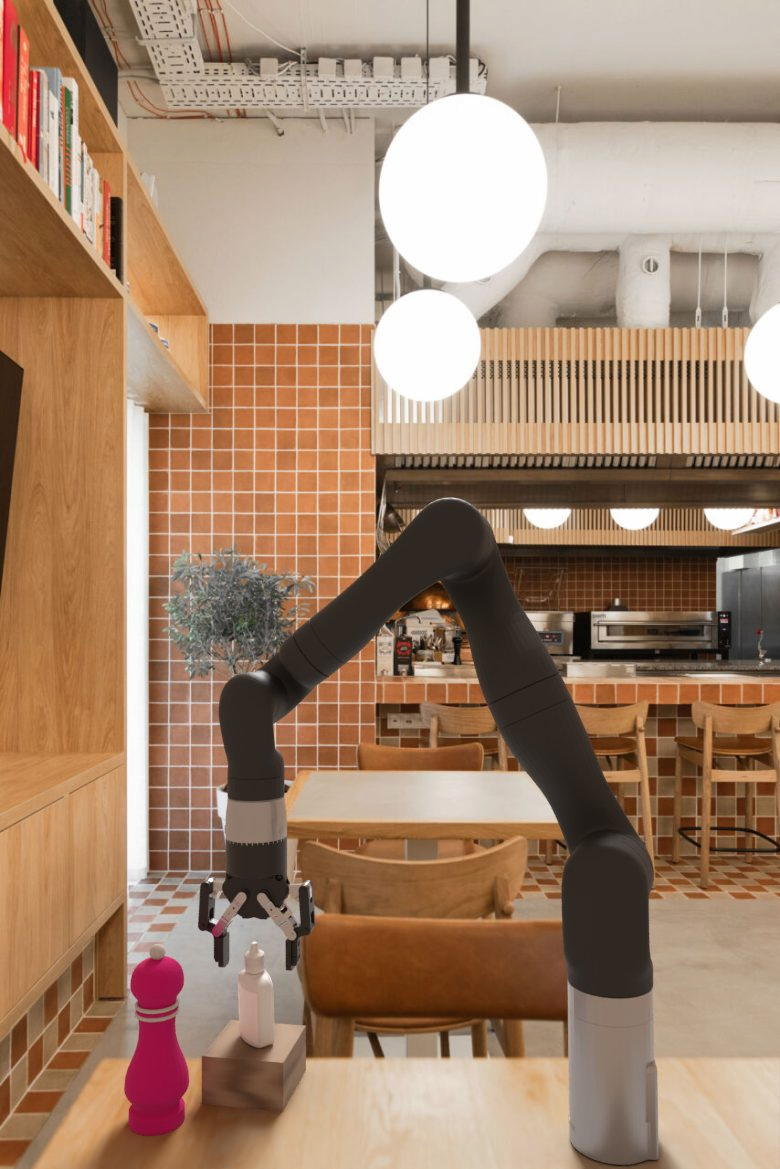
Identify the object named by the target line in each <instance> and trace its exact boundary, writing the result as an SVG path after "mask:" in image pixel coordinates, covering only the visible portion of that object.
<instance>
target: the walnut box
mask: <svg viewBox="0 0 780 1169" xmlns="http://www.w3.org/2000/svg"><path fill="white" fill-rule="evenodd" d="M274 1032H275V1041H274V1043H272V1044H270V1045H268V1046H265V1047H263V1048H256V1047H253V1046H251V1045H249V1044H248V1043H246V1042H245V1041H244V1040H243V1038H242V1037H241V1035H240V1030H239V1020H235V1019H230V1020H229V1022H228V1023H227V1024H226V1025H225V1027H223V1029H222V1030H221V1031H220V1033H219V1034H218V1035H217V1036H216V1038H215V1039H214V1040H213V1042H211V1044H210V1045H209V1047H208V1048H207V1049H206V1050H205V1052H203V1054H202V1055H201V1105H209V1106H210V1105H212V1106H219V1107H220V1106H223V1107H229V1108H230V1107H231V1108H232V1107H233V1108H241V1109H253V1110H263V1111H271V1112H272V1111H273V1112H274V1111H275V1112H283V1113H284V1111H285V1109H286V1107H287V1106H288V1104H289V1102H290V1100H291V1098H292V1096H293V1094H294V1093H295V1091H296V1089H297V1087H298V1085H299V1083H300V1082H301V1079H302V1078H303V1076H304V1074H305V1073H306V1071H307V1046H306V1045H307V1035H306V1034H307V1025H303V1024H301V1025H300V1024H289V1023H288V1024H287V1023H277V1022H274Z"/></svg>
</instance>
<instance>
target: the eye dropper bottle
mask: <svg viewBox="0 0 780 1169" xmlns="http://www.w3.org/2000/svg"><path fill="white" fill-rule="evenodd" d="M265 955H266V954H265V951H263V950H262V949H260V948H259V944H258V942H257V941H251V943H250V948H249V950H248V951H246V952H245V953H244V968H243V969H242V970H240V971H239V973H238V976H237V994H238V1021H239V1030H240V1035H241V1037H242V1038H243V1040H244V1041H245V1042H246V1043H248V1044H249V1045H251V1046H253V1047H256V1048H263V1047H265V1046H268V1045H270V1044H272V1043H274V1041H275V1032H274V1023H275V1005H274V1004H275V1003H274V1001H275V1000H274V984H273V981H272V978H271V976H270V973H269V972H267V970H266V962H265V961H266V956H265Z"/></svg>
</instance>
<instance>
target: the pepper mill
mask: <svg viewBox="0 0 780 1169" xmlns="http://www.w3.org/2000/svg"><path fill="white" fill-rule="evenodd" d="M184 974H185V973H184V969H183V967H182V965H181V964H180V963H179V962H178V960H176V959H174V958H173V957H170V956H167V955H166V948H165V946H164V945H163V944H161V943H156V944H153V945H152V946H151V947H150V948H149V957H147V958H145V959H143V960H141V961H140V962H139V963H138V964H137V965H136V966H135V968H134V969H133V972H132V974H131V977H130V983H129V986H130V987H129V988H130V991H131V994H132V996H133V997H134V998H135V1000H137V1001H136V1002H135V1004H134V1009H135V1011H134V1017H135V1018H136V1020H138V1039H137V1043H136V1047H135V1050H134V1053H133V1055H132V1058H131V1060H130V1062H129V1065H128V1067H127V1070H126V1073H125V1078H124V1084H123V1085H124V1089H123V1090H124V1091H123V1092H124V1095H125V1097H126V1099H127V1101H128V1102H129V1103H130V1106H129V1108H128V1123H127V1125H128V1128H129V1129H130V1131H132V1133H135V1134H137V1135H140V1136H144V1137H145V1136H147V1137H149V1136H150V1137H151V1136H152V1137H153V1136H162V1135H164V1134H169V1133H171V1132H173V1131H175V1130H176V1129H178V1128H179V1127H181V1125H182V1124H183V1123H184V1122H185V1118H186V1102H185V1100H184V1098H183V1097H184V1095H185V1094H186V1092H187V1091H188V1089H189V1086H190V1085H189V1084H190V1073H189V1072H190V1071H189V1067H188V1064H187V1061H186V1058H185V1056H184V1053H183V1051H182V1049H181V1046H180V1043H179V1042H178V1037H177V1033H176V1032H177V1031H176V1017H177V1016H178V1015H179V1013H180V1012H181V1011H180V1010H181V1009H180V1006H179V1005H180V1003H181V1002H180V998H179V997H178V996H179V995H180V993H181V992H182V990H183V988H184V984H185V975H184Z"/></svg>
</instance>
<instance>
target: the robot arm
mask: <svg viewBox="0 0 780 1169" xmlns="http://www.w3.org/2000/svg"><path fill="white" fill-rule="evenodd" d="M498 546H499V545H498V543H497V541H496V536H495V533H494V531H493V528H492V525H491V524H490V522H489V521H488V519H487V518H486V516H484V515H483V513H482V512H480V510H479V509H477V508H476V507H475V505H473V504H471V503H470V502H468V501H466V500H464V499H461V498H457V497H442V498H439V499H436V500H434V501H432V502H430V503H428V504H427V505H425V506H424V507H423V508H422V509H421V510H420V511H419V512H418V513H417V515H416V516H415V517H414V518H413V519H412V520H411V521H410V522H409V523H408V524H407V526H406V527H405V528H404V529H403V531H401V532H400V534H399V535H398V536H397V537H396V539H395V540H393V542H392V543H391V544H390V545H389V546H388V548H386V549H385V551H384V552H383V553H382V554H381V555H380V556H378V558H377V559H376V560H375V561H374V562H373V563H372V564H371V565H369V567H368V568H367V569H366V570H365V571H364V572H362V574H361V575H360V576H359V577H358V578H356V579H355V580H354V581H353V582H352V583H351V584H350V585H349V586H348V587H347V588H345V589H344V590H343V591H341V592H340V594H338V595H337V596H335V598H333V599H332V600H331V601H330V602H328V604H326V605H325V606H324V607H323V608H321V609H320V610H319V611H317V613H315V614H314V615H313V616H312V617H310V618H309V619H308V620H307V621H305V622H304V623H303V624H302V625H300V626H299V627H298V628H297V629H295V630H294V632H293V631H292V633H291V634H290V635H288V637H286V639H284V640H283V642H282V643H281V644H280V646H279V649H278V650H279V651H278V652H277V653H276V654H274V656H272V657H271V658H270V659H269V660H267V661H266V662H265V663H264V664H263V665H261V666H260V667H258V668H257V669H256V670H254V671H249V672H241V673H239V674H236V675H233V677H231V678H230V679H228V680H227V682H226V683H225V684H224V686H223V688H222V690H221V692H220V697H219V701H218V720H219V727H220V732H221V733H220V734H221V739H222V743H223V748H224V752H225V756H226V761H227V790H226V791H227V800H226V801H227V802H226V803H227V804H226V809H225V810H226V811H225V824H224V834H225V878H224V880H219V879H218V880H217V879H216V878H215V877H214V876H210V877H208V878H207V879H205V880H204V881H203V882H201V883H200V886H199V899H198V900H199V902H198V917H197V918H198V920H197V921H198V922H197V928H198V929H199V931H201V932H208V933H210V934H211V935H212V936H213V959H214V961H215V962H214V963H217V967H218V968H225V967H226V966H227V965H228V964H229V963H230V931H228V928H229V926H230V925H231V924H232V923H233V922H234V920H235V919H236V917H238V916H239V917H241V919H244V920H247V919H253V918H256V919H258V920H265V921H266V920H268V919H270V918H271V920H272V922H274V924H275V925H276V926H277V927H279V928H280V929H281V931H282V932H283V934H284V936H285V937H286V939H285V971H290V972H291V971H293V970H294V969H295V967H296V966H298V964H299V962H300V960H301V956H302V955H301V937H304V936H309V935H310V934H311V933H312V932H313V930H314V928H316V915H315V914H316V913H315V912H316V911H315V898H314V896H315V895H314V883H313V881H311V880H309V879H307V880H305V881H303V882H299V883H291V882H290V879H289V878H288V837H287V836H288V813H287V806H286V798H285V796H286V795H285V788H286V787H285V774H286V773H285V760H284V756H283V754H282V752H281V751H280V750H278V749H277V748H276V744H275V743H276V741H275V734H274V724H276V723H278V722H279V721H281V720H282V719H283V718H285V717H286V716H287V715H288V714H289V713H291V712H292V710H294V709H295V708H296V707H297V706H298V705H300V703H301V702H302V701H303V700H304V699H305V698H307V696H308V695H309V694H310V693H311V692H312V691H313V690H314V688H315V687H317V686H318V685H319V684H321V683H323V682H324V681H325V680H327V679H328V678H330V676H332V675H333V674H335V673H336V672H338V670H339V669H341V668H342V667H343V666H344V665H346V664H347V663H348V662H349V661H351V659H353V658H355V656H356V655H357V654H359V652H361V651H362V650H363V649H364V648H365V647H366V646H367V645H368V644H369V643H370V642H371V641H372V640H373V639H374V637H375V636H376V635H377V634H378V633H379V632H380V630H381V629H382V628H383V627H384V625H386V623H387V622H388V621H389V620H391V618H392V617H393V616H394V615H395V614H396V613H397V612H398V611H399V610H400V609H401V608H403V607H404V605H406V604H407V603H408V602H410V601H411V600H412V599H414V598H415V597H416V596H418V595H419V594H421V593H422V592H423V591H425V590H427V589H428V588H430V587H431V586H433V585H435V584H436V583H439V582H440V584H441V585H442V587H443V589H444V590H445V592H446V594H447V595H448V597H449V599H450V601H451V603H452V604H453V607H454V609H455V610H456V612H457V614H458V616H459V618H460V620H461V623H462V625H463V627H464V630H465V633H466V638H467V641H468V645H469V649H470V654H471V658H472V661H473V666H474V670H475V674H476V677H477V680H478V681H477V682H478V684H479V687H480V689H481V693H482V696H483V697H484V700H485V703H486V705H487V707H488V709H489V713H490V714H491V716H492V719H493V721H494V723H495V725H496V727H497V729H498V731H499V733H500V735H501V737H502V739H503V741H504V742H505V745H506V747H507V748H508V749H509V751H510V753H511V754H512V755H513V757H514V758H515V759H516V761H517V762H518V764H519V766H521V768H522V769H523V770H524V772H525V773H526V774H527V775H528V776H529V778H530V779H531V780H532V781H533V782H534V784H535V785H536V787H538V789H539V790H540V791H541V793H542V794H543V796H544V798H545V799H546V800H547V802H548V805H549V806H550V808H551V810H552V812H553V814H554V816H555V819H556V821H557V823H558V827H559V829H560V830H561V833H562V836H563V838H564V841H565V844H566V847H567V850H568V854H569V856H568V858H567V859H566V861H565V864H564V867H563V868H562V875H561V876H562V877H561V886H560V887H561V890H560V892H561V894H560V895H561V897H560V898H561V923H562V924H561V927H562V928H561V929H562V950H563V955H564V960H565V962H566V970H567V971H566V972H567V973H566V974H567V977H566V978H567V1032H568V1033H567V1040H568V1044H567V1046H568V1048H567V1049H568V1050H567V1051H568V1055H567V1056H568V1126H569V1127H568V1128H569V1130H568V1131H569V1133H568V1134H569V1135H568V1136H569V1141H570V1143H571V1145H572V1146H573V1148H574V1149H576V1151H578V1152H579V1153H580V1154H582V1155H583V1156H585V1157H587V1158H589V1159H592V1160H594V1161H596V1162H599V1163H606V1164H608V1165H623V1166H624V1165H634V1164H639V1163H642V1162H645V1161H647V1160H648V1161H649V1160H651V1161H652V1160H653V1161H658V1160H659V1159H660V1157H659V1154H660V1153H659V1149H660V1148H659V1101H658V1100H659V1098H658V1096H659V1090H658V1086H659V1085H658V1066H657V1063H656V1059H655V1020H654V1019H655V1018H654V1016H655V1014H654V1013H655V1012H654V1010H655V1008H654V1004H655V1003H654V964H653V961H652V957H651V949H650V947H651V946H650V894H651V892H652V888H653V884H654V881H655V870H654V864H653V861H652V858H651V855H650V852H649V851H648V849H647V847H646V846H645V844H644V843H645V842H643V840H642V839H641V836H639V834H638V832H637V831H636V829H635V827H634V825H633V824H632V823H631V821H630V819H629V817H628V815H627V813H625V811H624V809H623V808H622V806H621V804H620V803H619V800H618V799H617V797H616V796H615V794H614V792H613V791H612V789H611V787H610V785H609V783H608V781H607V779H606V777H605V774H604V773H603V770H602V767H601V765H600V763H599V759H598V757H597V755H596V754H597V753H596V752H595V749H594V746H593V744H592V741H591V739H590V738H589V735H588V732H587V730H586V727H585V726H584V723H583V720H582V718H581V717H580V714H579V711H578V710H577V707H576V703H575V702H574V699H573V698H572V696H571V693H570V691H569V689H568V687H567V684H566V683H565V681H564V679H563V677H562V674H561V673H560V671H559V668H558V667H557V665H556V663H555V661H554V659H553V658H552V655H551V654H550V651H549V649H547V646H546V645H545V642H544V641H543V639H542V638H541V635H540V634H539V632H538V631H537V630H536V628H535V627H536V626H534V625H533V623H532V621H531V619H530V618H529V617H528V615H527V613H526V612H525V610H524V608H523V606H522V605H521V603H520V601H519V599H518V597H517V595H516V593H515V590H514V588H513V585H512V583H511V582H512V581H511V580H510V578H509V574H508V572H507V569H506V566H505V564H504V561H503V558H502V556H501V552H500V549H499V547H498ZM221 891H222V893H223V895H224V896H225V898H226V900H228V903H229V904H230V905H228V907H227V908H226V909H225V911H224V913H223V914H222V915H221V916H220V918H219V920H218V919H216V918H215V913H216V912H215V911H216V898H217V897H218V896H219V895H220V892H221ZM290 894H291V895H292V896H293V898H294V900H295V901H296V902H297V903H298V907H299V918H300V920H299V921H300V922H298V921H297V919H296V918H295V917H294V915H293V911H292V909H291V907H290V906H289V905H288V904H287V903H286V899H287V898H288V896H289V895H290Z"/></svg>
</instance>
